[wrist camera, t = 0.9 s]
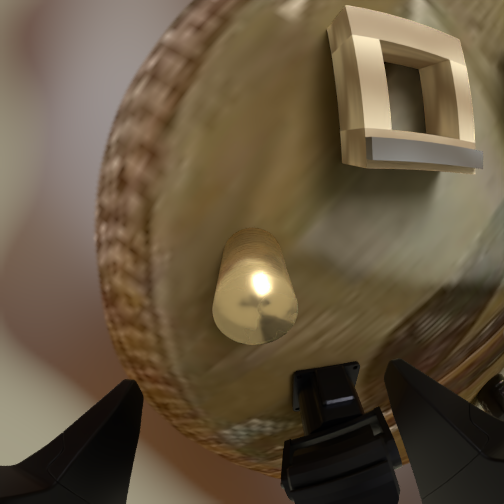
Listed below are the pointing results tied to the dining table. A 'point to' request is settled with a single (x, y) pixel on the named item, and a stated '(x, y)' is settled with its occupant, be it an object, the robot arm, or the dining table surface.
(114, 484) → the robot arm
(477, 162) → the jig
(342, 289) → the dining table surface
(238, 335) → the gold metal cylinder
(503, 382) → the supplement bottle
